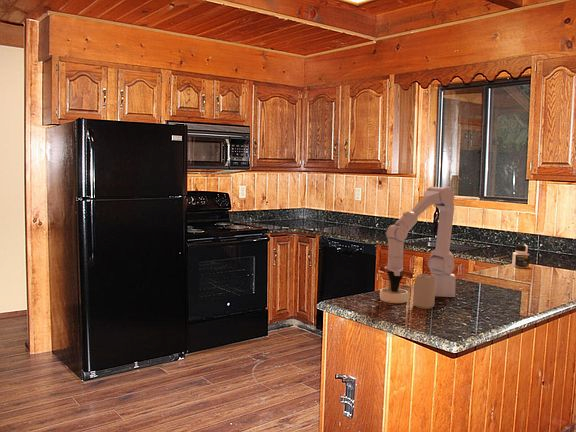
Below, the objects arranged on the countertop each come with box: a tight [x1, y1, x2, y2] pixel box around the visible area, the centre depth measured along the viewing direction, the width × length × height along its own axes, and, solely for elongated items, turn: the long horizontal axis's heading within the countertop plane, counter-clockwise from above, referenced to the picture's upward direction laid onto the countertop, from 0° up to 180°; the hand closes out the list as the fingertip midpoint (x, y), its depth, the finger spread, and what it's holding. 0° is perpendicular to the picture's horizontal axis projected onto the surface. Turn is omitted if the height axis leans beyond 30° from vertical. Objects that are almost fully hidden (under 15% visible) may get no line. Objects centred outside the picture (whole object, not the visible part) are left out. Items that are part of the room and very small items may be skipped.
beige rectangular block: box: [387, 279, 400, 294], centre depth 214 cm, size 4×2×7 cm, turn 86°
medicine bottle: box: [511, 243, 531, 269], centre depth 295 cm, size 7×7×12 cm
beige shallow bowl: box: [379, 287, 409, 304], centre depth 214 cm, size 10×10×4 cm
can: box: [413, 273, 436, 310], centre depth 204 cm, size 8×8×12 cm
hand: (394, 290), depth 214 cm, fingers closed on beige rectangular block, 2 cm apart
